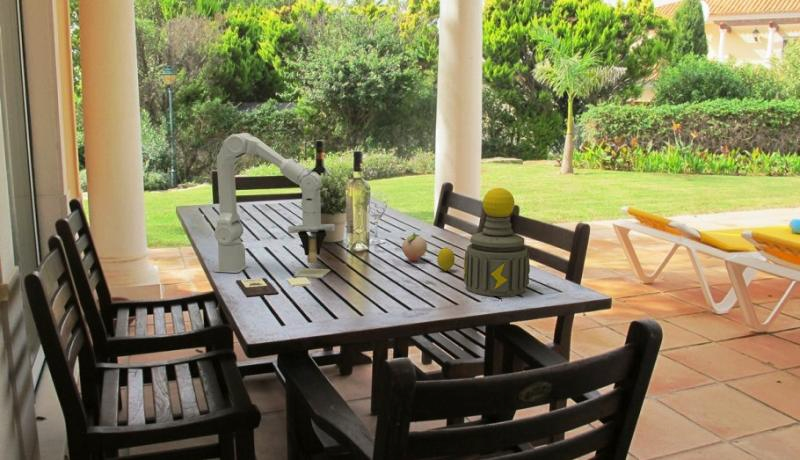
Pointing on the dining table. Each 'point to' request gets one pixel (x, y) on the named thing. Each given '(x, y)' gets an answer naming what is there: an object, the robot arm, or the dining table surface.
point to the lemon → (445, 258)
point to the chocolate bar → (256, 287)
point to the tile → (298, 281)
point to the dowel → (312, 249)
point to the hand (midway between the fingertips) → (312, 254)
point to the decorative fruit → (414, 247)
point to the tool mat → (312, 273)
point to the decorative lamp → (497, 251)
